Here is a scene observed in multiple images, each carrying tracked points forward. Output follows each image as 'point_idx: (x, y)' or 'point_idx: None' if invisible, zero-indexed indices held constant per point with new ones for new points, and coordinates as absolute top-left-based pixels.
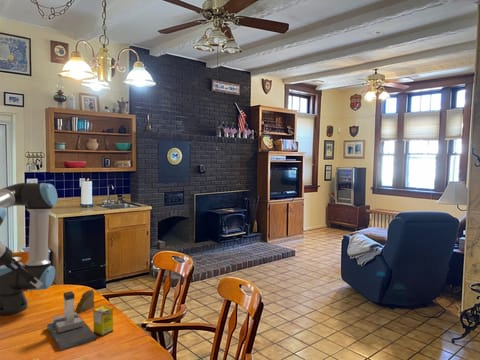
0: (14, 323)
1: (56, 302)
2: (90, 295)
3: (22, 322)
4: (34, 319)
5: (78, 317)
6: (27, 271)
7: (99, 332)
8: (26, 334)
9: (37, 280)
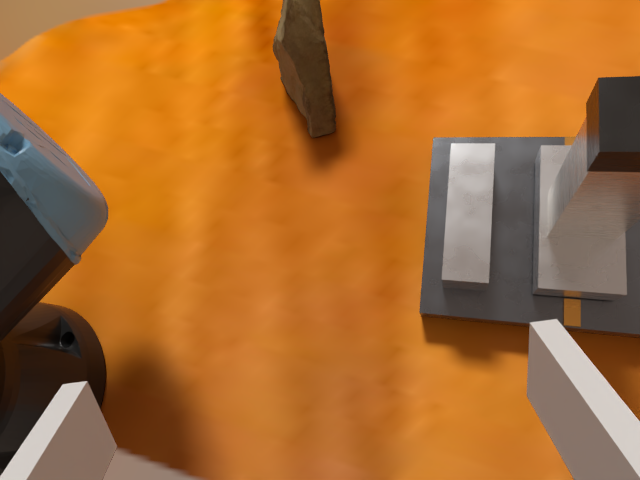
0: (222, 431)
1: (126, 180)
2: (319, 13)
3: (241, 393)
4: (249, 331)
5: (541, 151)
6: (78, 397)
7: None
8: (419, 431)
9: (622, 415)
